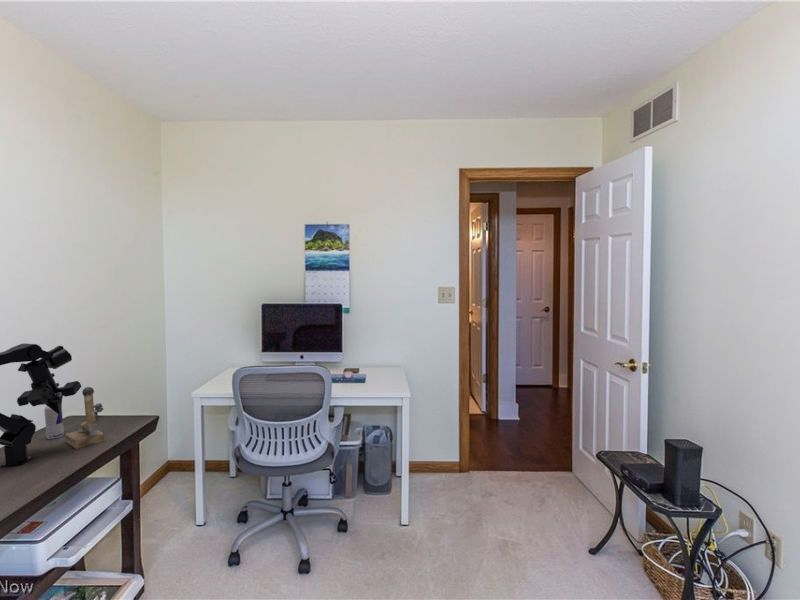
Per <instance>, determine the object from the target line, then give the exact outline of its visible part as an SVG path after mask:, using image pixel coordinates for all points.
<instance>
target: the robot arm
mask: <svg viewBox="0 0 800 600" xmlns="http://www.w3.org/2000/svg"><path fill="white" fill-rule="evenodd" d="M72 359H73V358H72V355H71V353H70V352H69V351H68V350H67V349H66V348H65V347H64V346H63V345H57V346H56V347H54V348H52V349H50V350H48V351H47V350H43V348H42V347H41V345H39V344H37V343H20V344H17V345H14V346H12V347H10V348H9V349H6V350H4V351H2V352H0V366H4V365H8V364H13V363H20V366H19V367H18V369H17V372H22V373H26V372H27V374H28V376H29V378H30V380H31V383H30V387H31V390H26V391H23V392H22V394H21V395H19V396H18V397H17V399H16V403H17V405H18V406H19V407H23V406H26V405H27V406H28V405H29V404H30V405H31V406H32V407H37V406H41V405H45V406H46V407H47V406H48V407H50V408H51V409H52V410H54V411H55V412H56V413H57V414H58V413H61V408H62V405H63V397H66V398H67V397H71V396H75V395H76V394H77V393H78V392H79V391H80V389H81V388H82V386H83V385H82V384H81V382H80V381H78V380H75V381H71V382H70V381H69V382H66V384H64V386H61V387H59V386H60V383H59V382H56V381H55V379H54V377H55V376H56V375H55V373H54V372H53V373H51V371H50V369H53V370H56V369H59V368H60V367H62V366H64V365H66V364H68V363H70V362H71V361H72ZM25 362H26V363H25ZM36 430H37V429H36V424H35V423H34V420H31V419H27V417H25V416H23V415H19V414H14V413H11V415H10V416H8V415H5V414H4V413H2V412H0V431H1V432H2V434H1V435H0V446H4V447H3V449H4V450H3V451H4V460H5V461H4V462H3V463H2V464H0V466H3V467H12V466H21V465H23V464H26V463H27V462H28V461H30V460H31V459H32V458H34V456H33V455H28V454H29V453H28V452H29V451H28V445H30V444H31V443H32V439H33V436H34V435H35V432H36Z"/></svg>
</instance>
